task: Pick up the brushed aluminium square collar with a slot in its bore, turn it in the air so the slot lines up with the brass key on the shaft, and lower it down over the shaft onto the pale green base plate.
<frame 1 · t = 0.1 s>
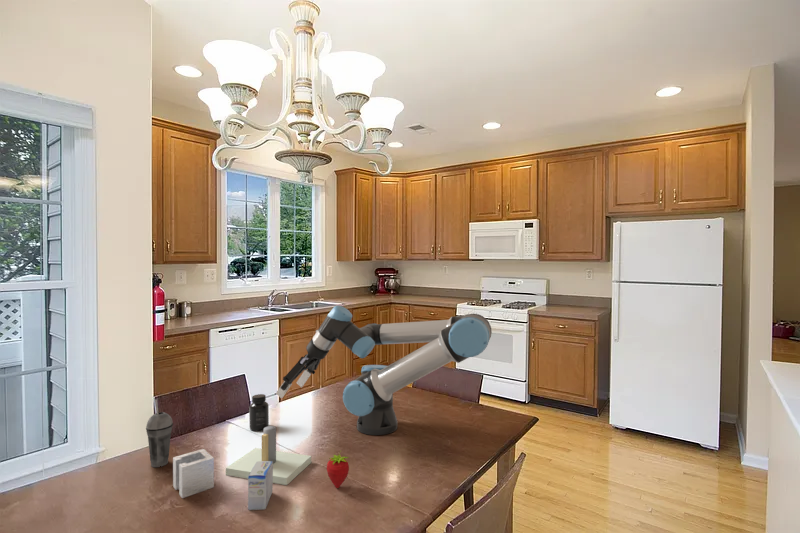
hand: (289, 390, 153), 15 cm above the table, tool tilted 35°, fingers open, 13 cm apart
supplement bottle: (259, 428, 157), on the table
shaft stand: (269, 468, 126), on the table
strawberry: (337, 488, 115), on the table
beverage cup: (159, 464, 129), on the table
medicine box: (260, 502, 108), on the table
keyed collar: (193, 486, 115), on the table
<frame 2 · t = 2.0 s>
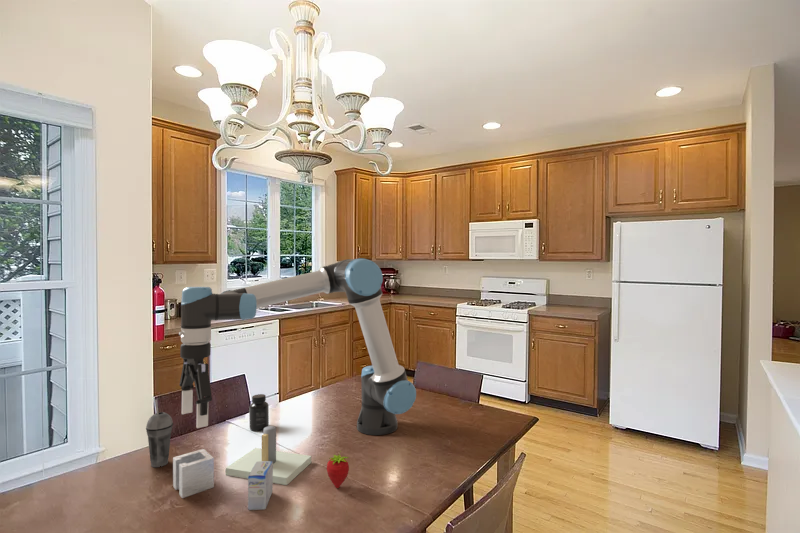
hand: (194, 419, 116), 18 cm above the table, tool pointing down, fingers open, 13 cm apart
nothing on the table moved.
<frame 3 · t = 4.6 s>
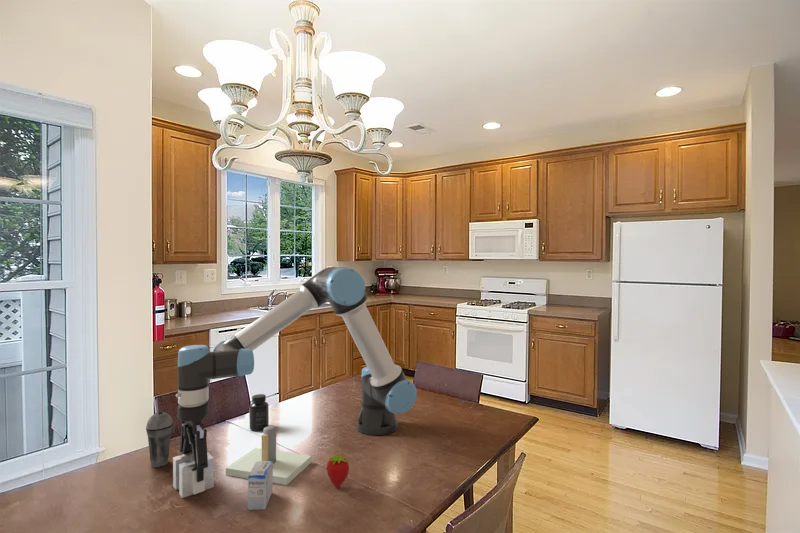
hand: (193, 485, 115), 0 cm above the table, tool pointing down, fingers closed on keyed collar, 8 cm apart
keyed collar: (193, 486, 115), on the table, touching gripper
everything else where it was.
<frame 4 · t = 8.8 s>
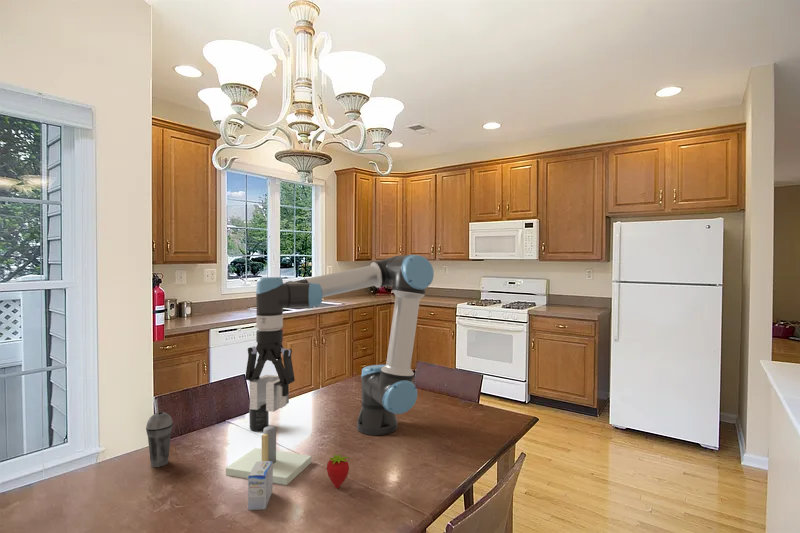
hand: (269, 405, 126), 19 cm above the table, tool pointing down, fingers closed on keyed collar, 8 cm apart
keyed collar: (269, 405, 125), point 19 cm above the table, touching gripper
everything else where it was.
when the fingers open (4 cm above the table, at t = 13.0 s): keyed collar drops 1 cm, resting on shaft stand.
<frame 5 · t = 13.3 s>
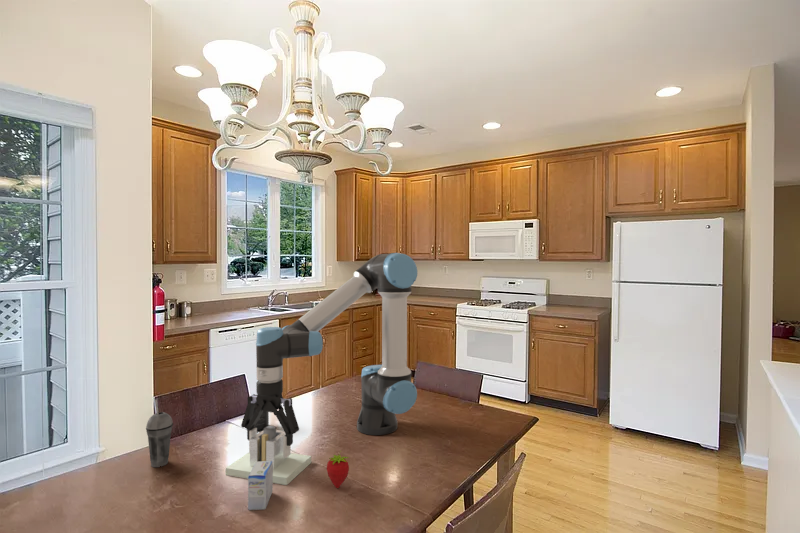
hand: (269, 453, 126), 4 cm above the table, tool pointing down, fingers open, 11 cm apart
keyed collar: (269, 461, 126), point 2 cm above the table, touching shaft stand
everything else where it was.
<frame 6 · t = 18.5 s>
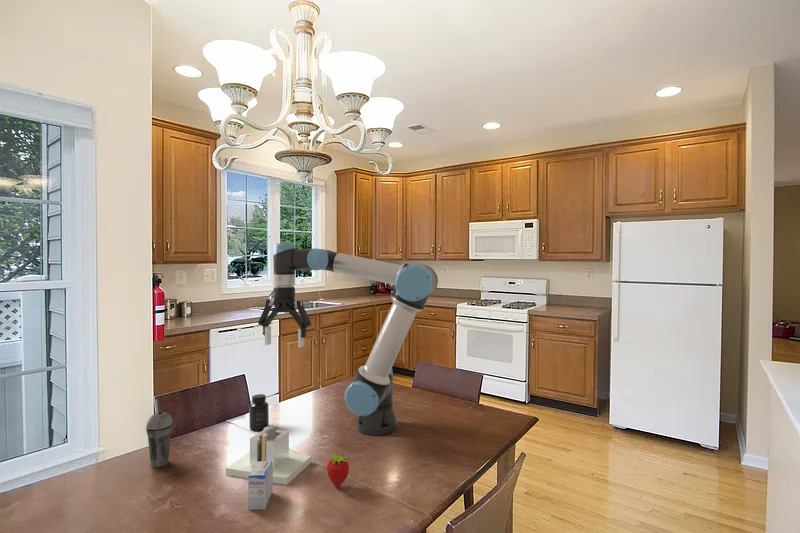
hand: (284, 345, 151), 32 cm above the table, tool pointing down, fingers open, 13 cm apart
nothing on the table moved.
at the end: keyed collar 0.0 cm off-centre on the shaft stand, point 2.0 cm above the shaft stand's base; keyed collar tilted 0°; the gripper is holding nothing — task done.
